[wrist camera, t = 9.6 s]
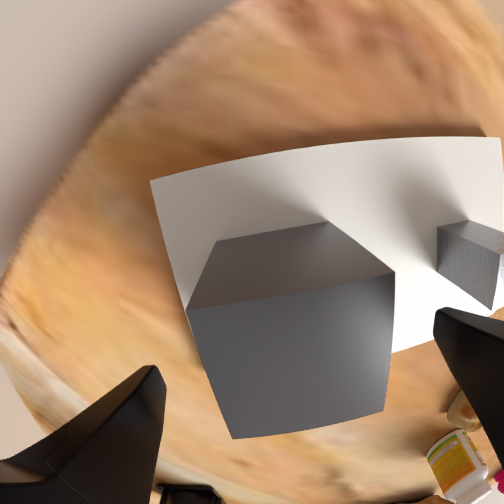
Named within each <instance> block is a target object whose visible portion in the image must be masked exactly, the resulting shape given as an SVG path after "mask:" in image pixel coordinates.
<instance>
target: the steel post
mask: <svg viewBox="0 0 504 504" xmlns="http://www.w3.org/2000/svg"><path fill="white" fill-rule="evenodd" d="M436 272H437V273H438V274H440V275H441V276H443V277H444V278H446V279H447V280H449V281H450V282H452V283H453V284H455V285H456V286H457V287H459V288H460V289H462V290H463V291H465V292H466V293H467V294H469V295H470V296H472V297H473V298H474V299H476V300H477V301H478V302H480V303H481V304H482V305H484V306H485V307H486V308H488V309H489V310H490V311H494V310H497V309H499V308H501V307H503V306H504V232H501V231H499V230H496V229H493V228H491V227H488V226H485V225H482V224H480V223H477V222H474V221H471V220H467V221H462V222H457V223H453V224H448V225H443V226H438V227H437V271H436Z"/></svg>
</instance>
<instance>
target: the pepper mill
mask: <svg viewBox="0 0 504 504" xmlns="http://www.w3.org/2000/svg"><path fill="white" fill-rule="evenodd" d="M494 479H495V481H496V482H498V481H499V483H498V490H499V491H500V492H501V493H503V494H504V470H503V469H502V470H501V471H500V472H499V473H498V474H496V476H495V477H494Z"/></svg>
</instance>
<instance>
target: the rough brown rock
mask: <svg viewBox="0 0 504 504" xmlns="http://www.w3.org/2000/svg"><path fill="white" fill-rule="evenodd" d="M398 504H407V503H398ZM409 504H455V503H453V502H450V501H449V500H445V499H443V498H441V497H440V496H438V495H432V496H429V497H426V498H424V499H422V500H421V501H420V502H417V503H409Z"/></svg>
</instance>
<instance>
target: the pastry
mask: <svg viewBox="0 0 504 504" xmlns="http://www.w3.org/2000/svg"><path fill="white" fill-rule="evenodd" d="M447 419H448V420H449V422H451V423H452V424H454V425H455V426H456V427H459V428H462V429H463V430H464V431H466V432H477V431H480V430H481V428H482V425H481V423H480V421H479V419H478V417H477V416H476V414H475V412H474V410H473V408H472V407H471V405H470V403H469V401H468V400H467V398H466V396H465V394H464V393H463V391H462V389H461V391H460V392H459V393H458V395H457V396H456V398H455V399H454V400H453V402H452V403H451V405H450V407H449V408H448V413H447Z"/></svg>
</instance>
